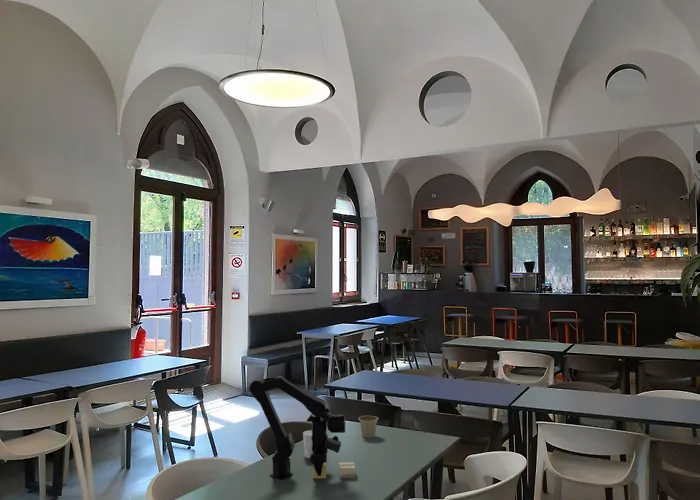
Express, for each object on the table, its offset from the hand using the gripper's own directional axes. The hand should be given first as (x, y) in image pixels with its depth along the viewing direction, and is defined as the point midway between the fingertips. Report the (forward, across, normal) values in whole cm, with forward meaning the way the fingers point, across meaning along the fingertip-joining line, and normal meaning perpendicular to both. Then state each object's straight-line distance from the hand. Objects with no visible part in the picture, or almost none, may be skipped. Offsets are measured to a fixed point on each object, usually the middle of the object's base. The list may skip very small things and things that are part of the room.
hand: (319, 473), depth 216 cm
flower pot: (+1, +50, -21) cm, 54 cm away
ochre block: (+1, 0, 0) cm, 1 cm away
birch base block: (+1, 0, -11) cm, 11 cm away
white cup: (+1, +23, +4) cm, 23 cm away
